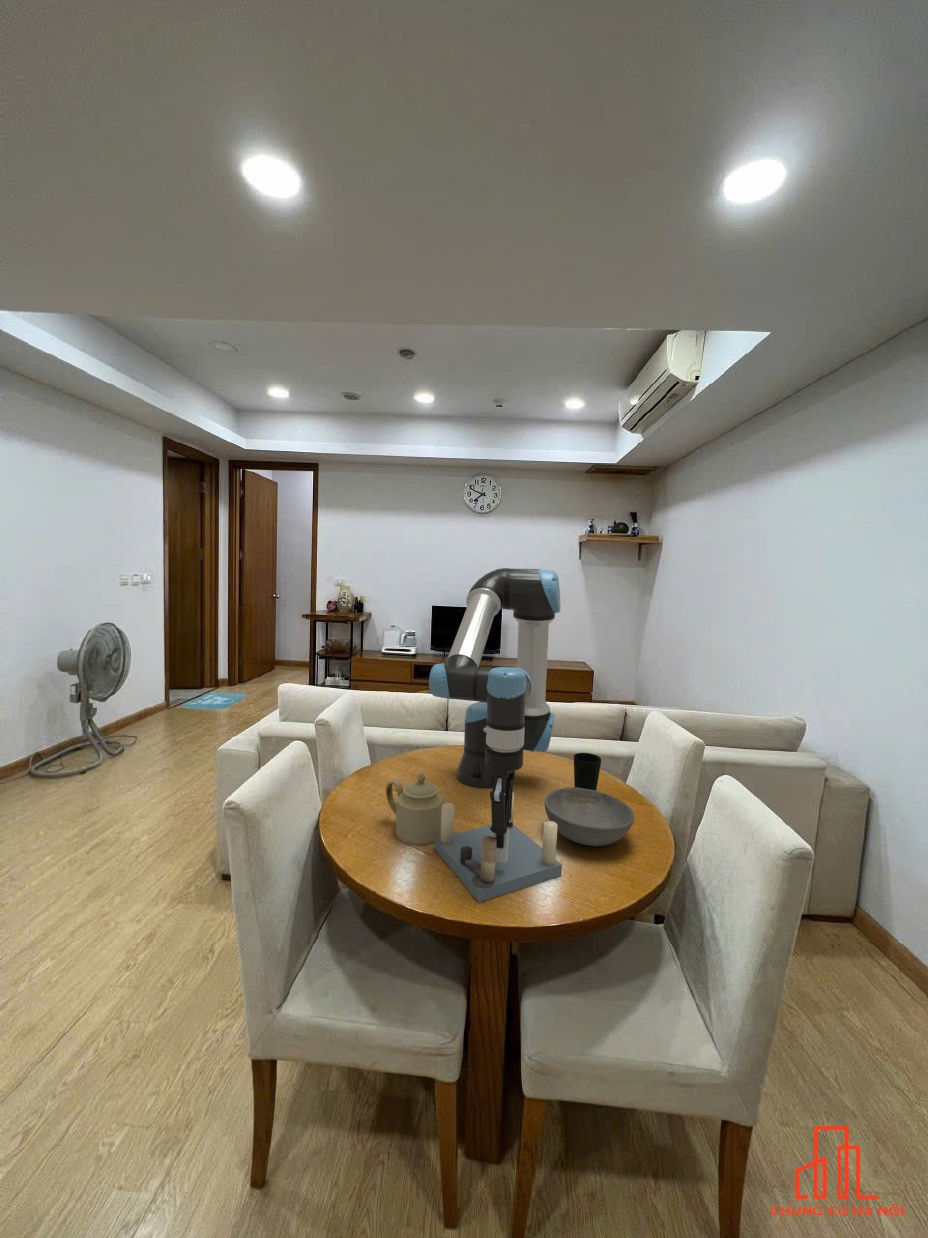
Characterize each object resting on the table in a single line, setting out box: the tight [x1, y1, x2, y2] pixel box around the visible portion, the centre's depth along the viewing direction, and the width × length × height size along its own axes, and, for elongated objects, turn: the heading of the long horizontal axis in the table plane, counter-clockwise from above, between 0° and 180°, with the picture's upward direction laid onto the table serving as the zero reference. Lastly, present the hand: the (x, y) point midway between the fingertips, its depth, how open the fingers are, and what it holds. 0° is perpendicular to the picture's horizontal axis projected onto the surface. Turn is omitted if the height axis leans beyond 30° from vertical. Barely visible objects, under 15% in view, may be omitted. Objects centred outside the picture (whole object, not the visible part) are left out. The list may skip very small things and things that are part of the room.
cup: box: [573, 752, 602, 791], centre depth 139 cm, size 8×8×12 cm
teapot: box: [385, 772, 444, 846], centre depth 117 cm, size 15×11×15 cm
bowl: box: [544, 786, 635, 847], centre depth 119 cm, size 21×21×8 cm
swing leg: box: [460, 836, 497, 882], centre depth 99 cm, size 10×3×8 cm, turn 37°
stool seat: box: [433, 791, 563, 903], centre depth 106 cm, size 20×20×11 cm
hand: (500, 859), depth 99 cm, fingers closed
